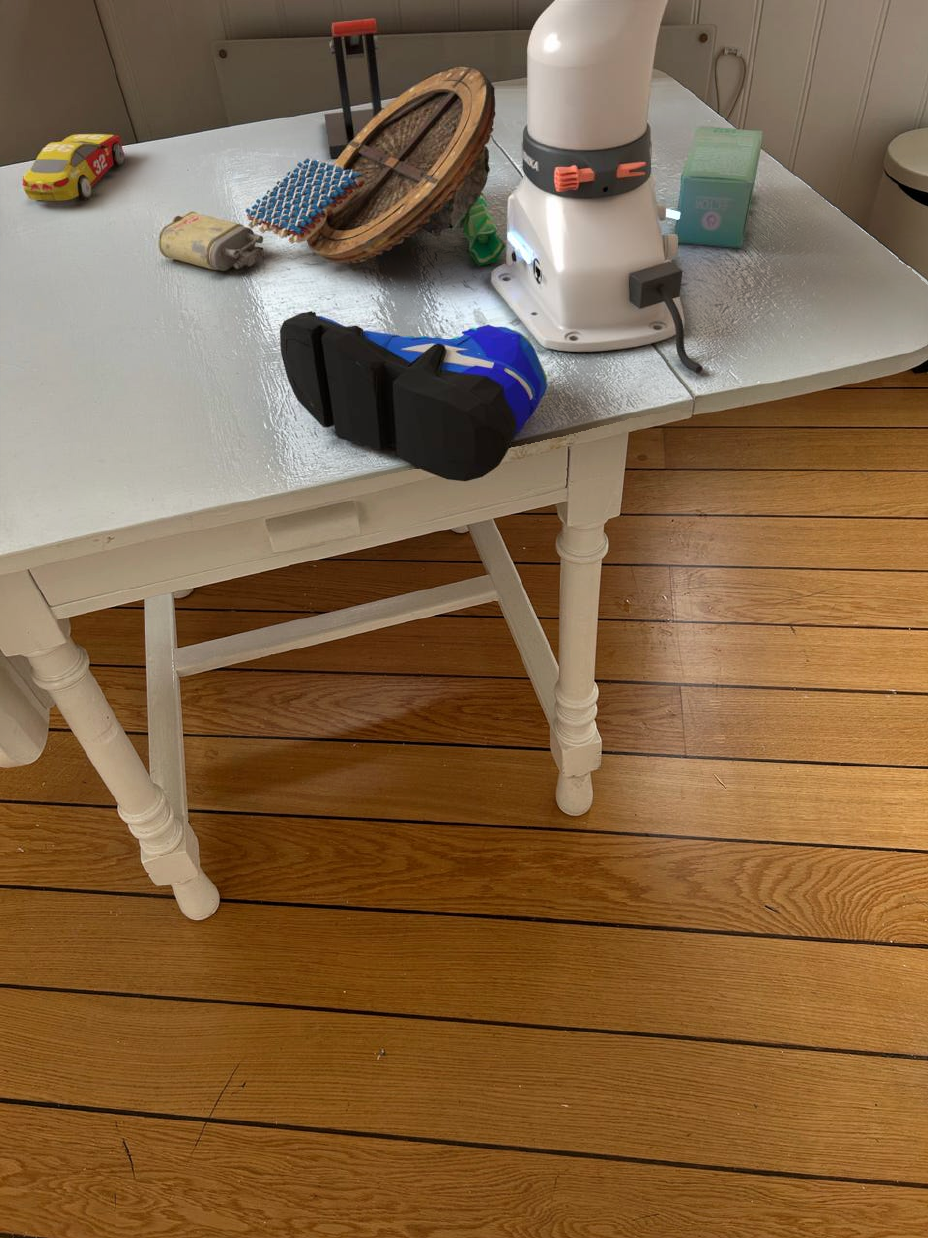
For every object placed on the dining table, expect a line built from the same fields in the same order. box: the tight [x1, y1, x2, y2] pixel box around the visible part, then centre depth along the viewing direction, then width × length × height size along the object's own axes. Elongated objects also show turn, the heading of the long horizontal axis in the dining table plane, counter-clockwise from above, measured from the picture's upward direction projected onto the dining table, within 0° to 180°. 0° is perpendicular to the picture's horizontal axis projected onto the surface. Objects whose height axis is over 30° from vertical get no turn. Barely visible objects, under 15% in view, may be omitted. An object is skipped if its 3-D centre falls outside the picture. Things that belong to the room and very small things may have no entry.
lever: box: [331, 18, 378, 60], centre depth 113 cm, size 12×5×2 cm, turn 9°
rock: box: [419, 145, 491, 239], centre depth 101 cm, size 17×10×10 cm
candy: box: [459, 191, 506, 267], centre depth 102 cm, size 12×3×4 cm
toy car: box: [22, 133, 125, 202], centre depth 119 cm, size 8×17×5 cm, turn 171°
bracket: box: [324, 25, 385, 160], centre depth 121 cm, size 12×10×13 cm
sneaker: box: [279, 310, 548, 482], centre depth 79 cm, size 9×24×15 cm
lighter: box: [157, 211, 265, 272], centre depth 102 cm, size 7×4×10 cm
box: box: [674, 126, 764, 249], centre depth 101 cm, size 7×14×8 cm, turn 164°
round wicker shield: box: [305, 66, 496, 264], centre depth 99 cm, size 25×3×25 cm
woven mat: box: [245, 157, 365, 245], centre depth 99 cm, size 10×11×2 cm
